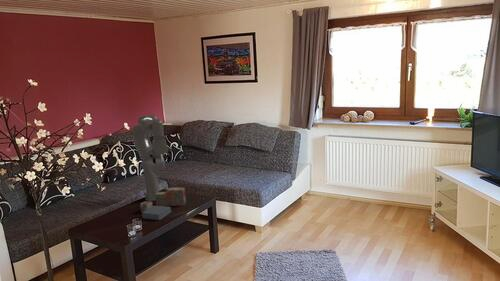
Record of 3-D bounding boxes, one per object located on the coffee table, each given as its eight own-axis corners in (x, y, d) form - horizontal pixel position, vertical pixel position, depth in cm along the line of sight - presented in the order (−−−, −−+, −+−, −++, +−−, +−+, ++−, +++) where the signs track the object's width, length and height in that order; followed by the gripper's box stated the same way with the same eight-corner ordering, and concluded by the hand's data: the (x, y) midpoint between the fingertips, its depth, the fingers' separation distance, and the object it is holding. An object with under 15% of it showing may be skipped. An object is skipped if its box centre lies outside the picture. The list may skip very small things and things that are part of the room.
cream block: (141, 212, 272) (140, 204, 271) (146, 208, 278) (145, 201, 276) (147, 212, 270) (146, 204, 269) (153, 209, 275) (152, 201, 274)
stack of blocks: (156, 206, 281) (154, 190, 279) (159, 203, 287) (157, 188, 285) (184, 205, 279) (182, 189, 277) (186, 202, 285) (184, 187, 283)
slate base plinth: (142, 218, 260) (141, 212, 259) (154, 210, 272) (154, 205, 272) (159, 220, 254) (158, 214, 254) (171, 212, 267) (170, 207, 266)
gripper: (169, 135, 270) (171, 159, 273) (145, 139, 262) (147, 163, 265) (172, 137, 264) (175, 160, 267) (147, 140, 256) (150, 165, 259)
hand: (161, 162), depth 266 cm, fingers open, 9 cm apart
